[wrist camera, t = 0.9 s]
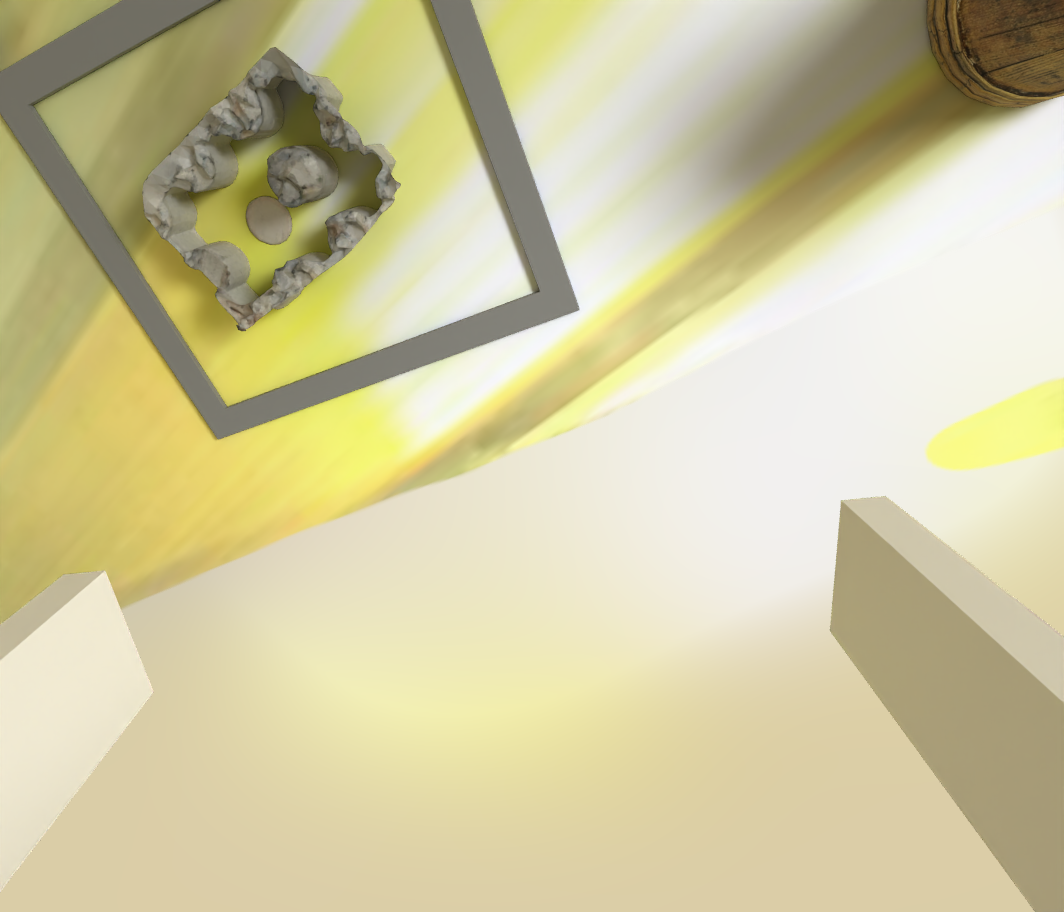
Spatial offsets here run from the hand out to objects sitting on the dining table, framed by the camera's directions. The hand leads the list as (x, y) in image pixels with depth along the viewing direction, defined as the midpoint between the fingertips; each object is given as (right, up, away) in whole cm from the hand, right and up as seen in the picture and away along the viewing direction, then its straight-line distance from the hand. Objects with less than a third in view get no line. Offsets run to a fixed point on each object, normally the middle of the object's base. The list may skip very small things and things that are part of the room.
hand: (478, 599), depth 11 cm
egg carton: (-11, +15, +19) cm, 27 cm away
